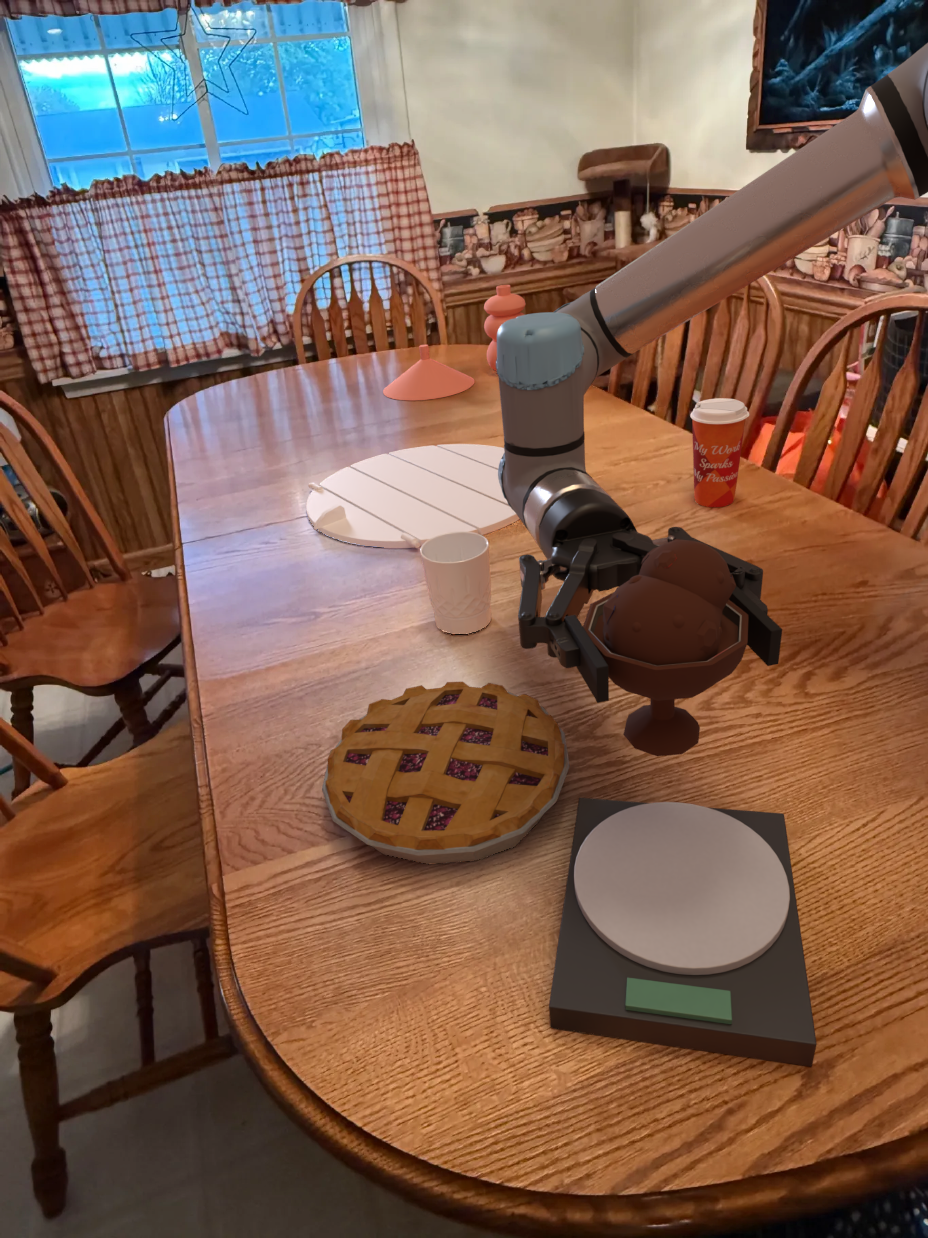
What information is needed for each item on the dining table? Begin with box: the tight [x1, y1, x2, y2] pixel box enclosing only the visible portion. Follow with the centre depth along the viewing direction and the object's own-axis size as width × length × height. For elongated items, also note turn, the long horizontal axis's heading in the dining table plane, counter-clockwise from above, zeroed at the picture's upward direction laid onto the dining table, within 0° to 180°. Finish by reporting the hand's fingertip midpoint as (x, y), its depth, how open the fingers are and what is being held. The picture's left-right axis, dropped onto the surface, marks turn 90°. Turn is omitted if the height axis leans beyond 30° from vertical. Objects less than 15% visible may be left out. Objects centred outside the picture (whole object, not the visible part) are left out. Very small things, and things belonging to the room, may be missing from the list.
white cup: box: [419, 532, 492, 634], centre depth 96 cm, size 8×8×10 cm
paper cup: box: [689, 397, 750, 508], centre depth 116 cm, size 8×8×14 cm
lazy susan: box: [305, 443, 520, 549], centre depth 132 cm, size 40×39×3 cm
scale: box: [548, 797, 818, 1067], centre depth 59 cm, size 16×19×3 cm
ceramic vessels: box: [382, 284, 527, 401], centre depth 184 cm, size 35×21×19 cm, turn 105°
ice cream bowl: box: [582, 539, 748, 757], centre depth 56 cm, size 11×11×15 cm
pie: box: [321, 681, 570, 865], centre depth 73 cm, size 22×22×5 cm
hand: (690, 666), depth 52 cm, fingers closed on ice cream bowl, 11 cm apart
